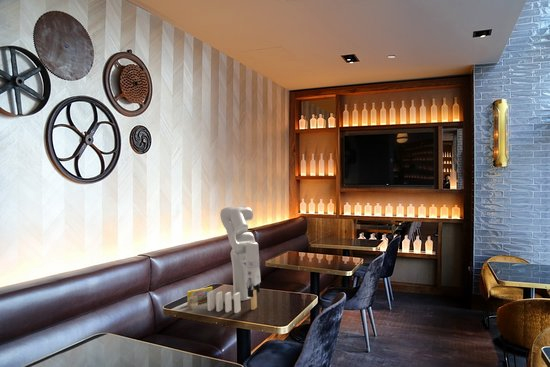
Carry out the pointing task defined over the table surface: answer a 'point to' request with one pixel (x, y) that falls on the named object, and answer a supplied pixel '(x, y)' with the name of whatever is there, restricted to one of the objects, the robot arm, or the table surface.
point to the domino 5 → (254, 300)
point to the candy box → (199, 294)
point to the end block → (192, 302)
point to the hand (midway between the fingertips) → (253, 294)
